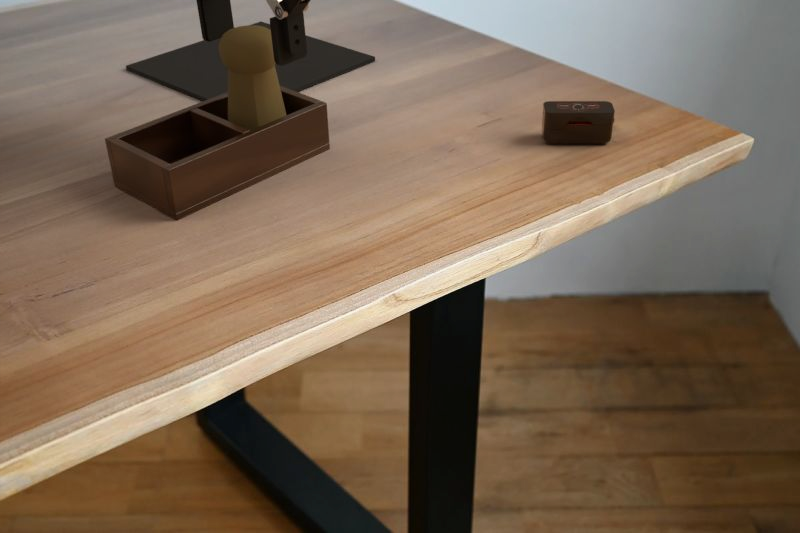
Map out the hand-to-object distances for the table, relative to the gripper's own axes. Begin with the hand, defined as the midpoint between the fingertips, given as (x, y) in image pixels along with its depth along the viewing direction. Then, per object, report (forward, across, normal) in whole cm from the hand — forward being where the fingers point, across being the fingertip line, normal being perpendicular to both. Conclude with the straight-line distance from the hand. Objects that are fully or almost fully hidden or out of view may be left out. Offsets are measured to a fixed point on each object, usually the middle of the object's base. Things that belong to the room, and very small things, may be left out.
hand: (253, 48), depth 79 cm
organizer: (+10, 0, -5) cm, 11 cm away
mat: (+10, -18, +13) cm, 25 cm away
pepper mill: (+10, 0, 0) cm, 10 cm away
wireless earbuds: (+11, +21, +21) cm, 32 cm away
